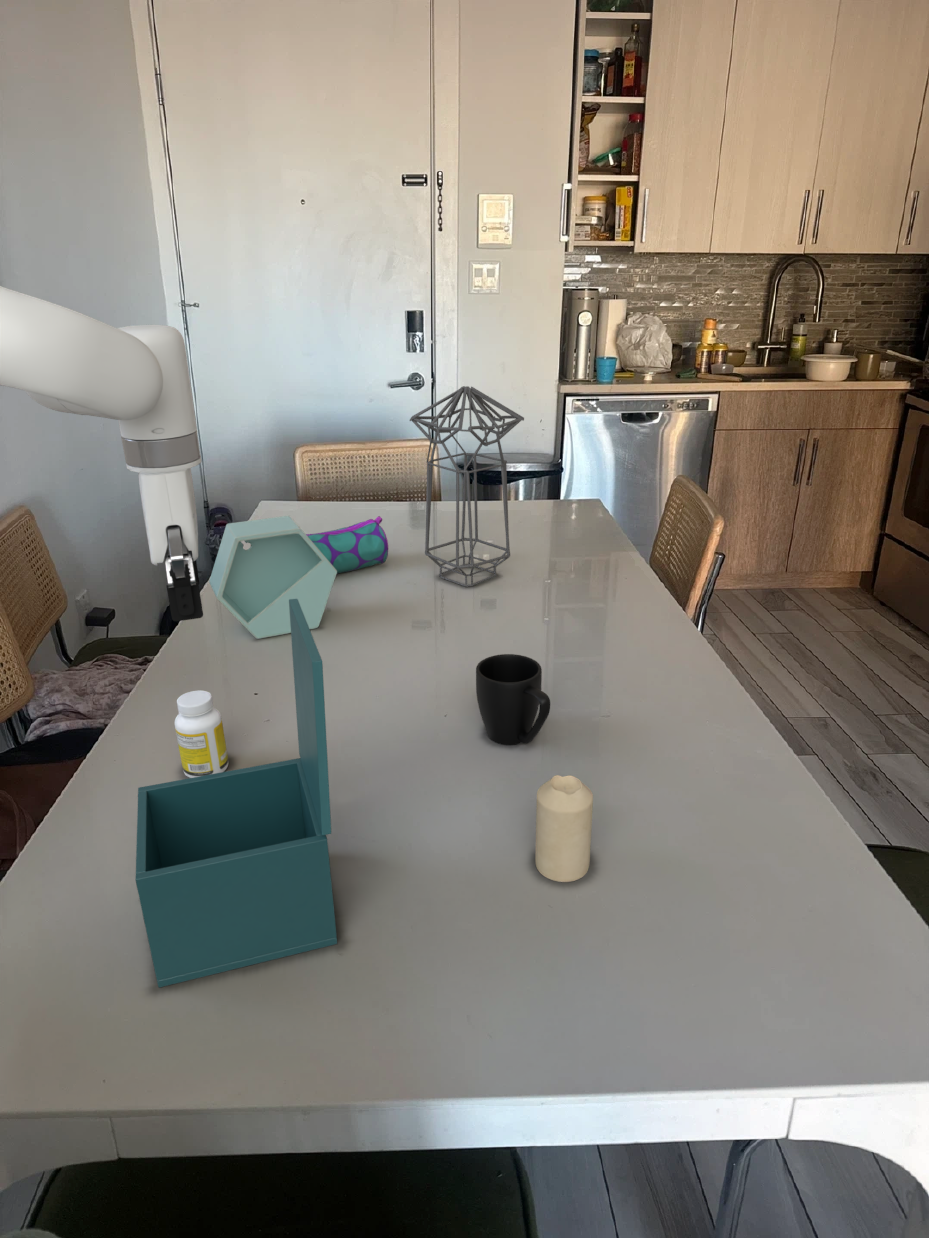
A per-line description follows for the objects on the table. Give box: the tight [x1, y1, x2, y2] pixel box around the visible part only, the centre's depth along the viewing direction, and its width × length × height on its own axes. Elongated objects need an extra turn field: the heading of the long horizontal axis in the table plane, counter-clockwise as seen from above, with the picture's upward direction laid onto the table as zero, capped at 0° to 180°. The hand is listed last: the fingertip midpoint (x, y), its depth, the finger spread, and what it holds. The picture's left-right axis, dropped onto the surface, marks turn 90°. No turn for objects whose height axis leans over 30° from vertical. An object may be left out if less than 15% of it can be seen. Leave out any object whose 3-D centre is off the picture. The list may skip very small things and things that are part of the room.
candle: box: [534, 774, 594, 883], centre depth 87 cm, size 6×6×10 cm
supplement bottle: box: [174, 689, 229, 778], centre depth 104 cm, size 5×5×10 cm
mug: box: [475, 653, 551, 746], centre depth 109 cm, size 8×12×10 cm
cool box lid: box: [289, 599, 332, 836], centre depth 77 cm, size 16×14×1 cm
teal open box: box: [134, 757, 338, 988], centre depth 81 cm, size 16×14×12 cm
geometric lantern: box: [409, 385, 525, 588], centre depth 157 cm, size 16×16×35 cm
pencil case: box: [305, 515, 389, 575], centre depth 166 cm, size 21×9×10 cm, turn 116°
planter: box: [208, 515, 337, 640], centre depth 141 cm, size 17×8×21 cm
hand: (186, 602), depth 98 cm, fingers open, 9 cm apart
